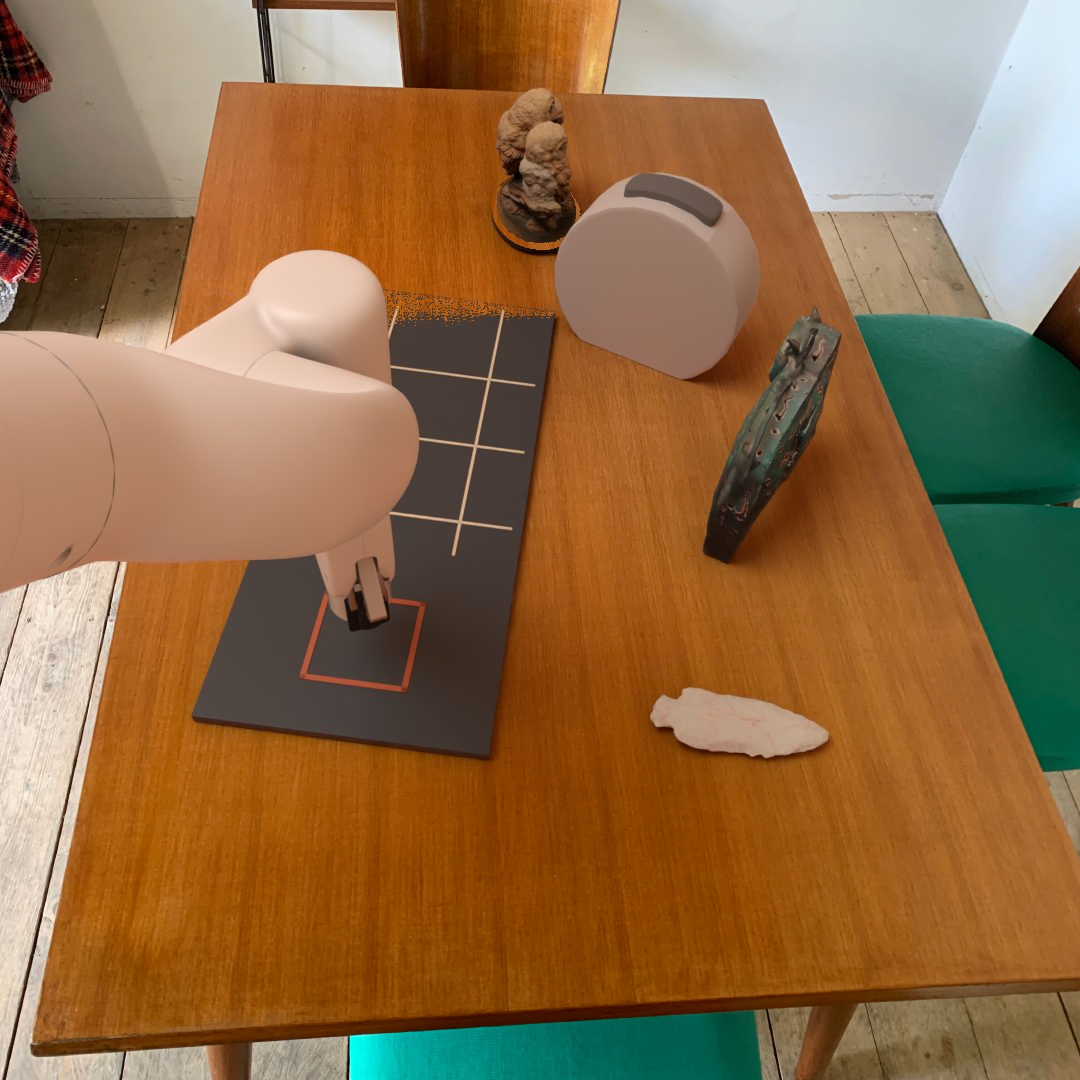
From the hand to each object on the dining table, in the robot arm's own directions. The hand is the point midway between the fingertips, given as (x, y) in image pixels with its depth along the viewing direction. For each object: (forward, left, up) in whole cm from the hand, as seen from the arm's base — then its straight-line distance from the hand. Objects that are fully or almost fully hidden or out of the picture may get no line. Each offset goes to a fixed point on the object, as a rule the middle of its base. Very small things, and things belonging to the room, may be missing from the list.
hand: (359, 593), depth 73 cm
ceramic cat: (+41, +4, -8) cm, 42 cm away
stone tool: (+27, -18, -8) cm, 33 cm away
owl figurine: (+38, +55, -8) cm, 67 cm away
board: (+9, +17, -8) cm, 20 cm away
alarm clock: (+41, +29, -8) cm, 51 cm away
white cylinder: (0, 0, 0) cm, 0 cm away
